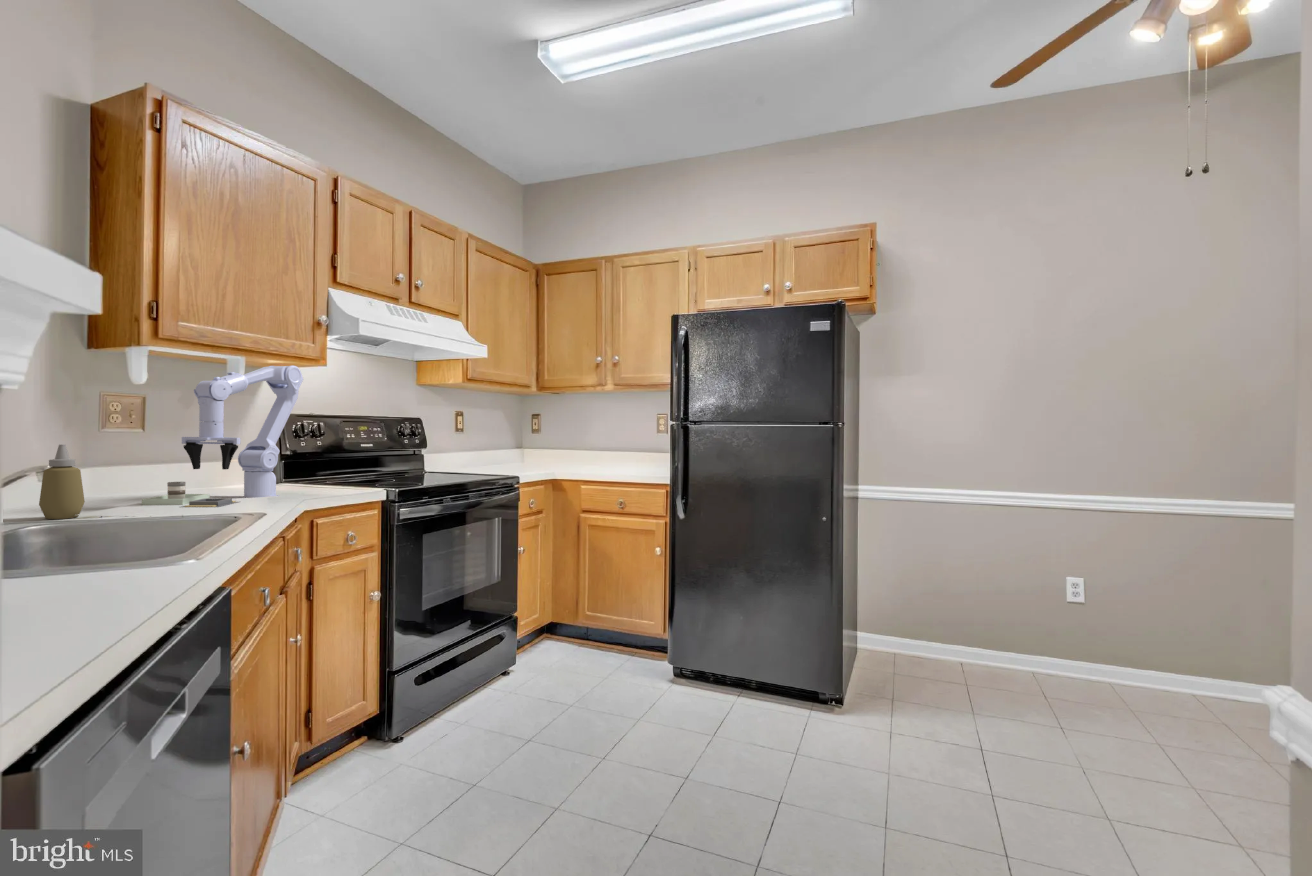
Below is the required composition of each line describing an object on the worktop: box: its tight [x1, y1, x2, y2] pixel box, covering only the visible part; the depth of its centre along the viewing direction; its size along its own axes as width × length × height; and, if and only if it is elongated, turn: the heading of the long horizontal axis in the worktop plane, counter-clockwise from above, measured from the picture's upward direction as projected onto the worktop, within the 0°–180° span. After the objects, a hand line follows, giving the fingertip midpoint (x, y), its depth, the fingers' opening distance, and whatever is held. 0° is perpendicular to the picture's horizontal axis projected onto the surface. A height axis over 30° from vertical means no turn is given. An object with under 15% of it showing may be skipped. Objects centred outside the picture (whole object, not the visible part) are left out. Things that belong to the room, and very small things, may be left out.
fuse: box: [166, 481, 187, 499], centre depth 176 cm, size 4×4×6 cm
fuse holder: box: [180, 497, 240, 508], centre depth 172 cm, size 12×10×2 cm
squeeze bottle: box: [38, 444, 86, 520], centre depth 151 cm, size 8×8×18 cm
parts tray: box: [141, 493, 211, 506], centre depth 176 cm, size 13×10×2 cm
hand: (211, 469), depth 177 cm, fingers open, 7 cm apart
